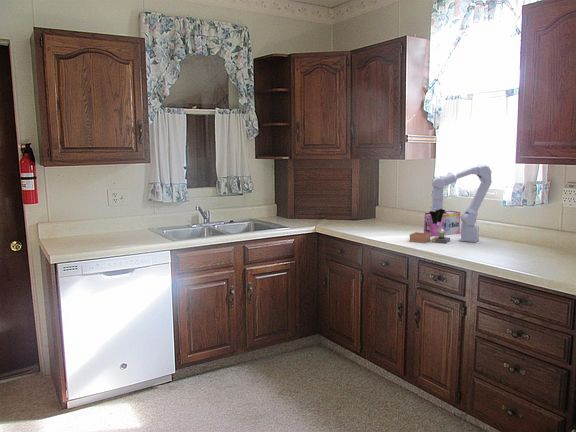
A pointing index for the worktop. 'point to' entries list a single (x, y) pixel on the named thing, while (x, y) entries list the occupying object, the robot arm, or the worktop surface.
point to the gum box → (443, 223)
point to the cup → (420, 237)
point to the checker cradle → (441, 240)
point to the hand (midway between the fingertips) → (436, 222)
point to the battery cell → (441, 233)
